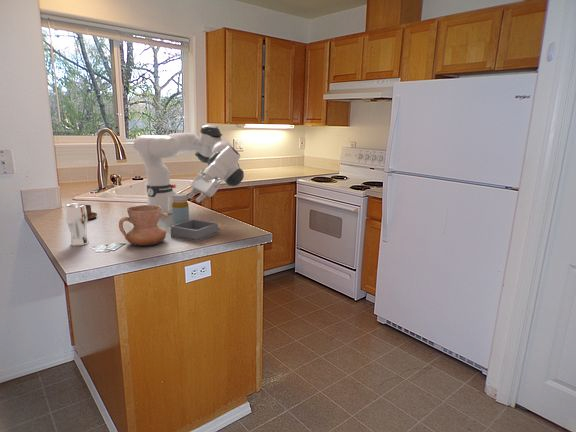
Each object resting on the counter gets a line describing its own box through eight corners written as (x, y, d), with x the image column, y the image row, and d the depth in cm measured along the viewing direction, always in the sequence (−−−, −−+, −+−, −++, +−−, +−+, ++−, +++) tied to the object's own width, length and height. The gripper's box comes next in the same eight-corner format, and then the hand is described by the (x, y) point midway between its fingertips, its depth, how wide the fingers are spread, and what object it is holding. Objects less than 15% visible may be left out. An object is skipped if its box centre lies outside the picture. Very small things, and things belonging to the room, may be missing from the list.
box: (193, 229, 170) (193, 219, 169) (218, 233, 164) (217, 223, 163) (171, 236, 158) (170, 226, 157) (196, 241, 152) (196, 230, 151)
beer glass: (66, 244, 147) (61, 205, 143) (84, 239, 152) (79, 202, 149) (75, 247, 143) (71, 208, 139) (93, 242, 148) (89, 205, 145)
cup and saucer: (66, 218, 185) (65, 205, 184) (93, 214, 192) (92, 202, 191) (72, 223, 176) (70, 210, 175) (100, 219, 184) (99, 207, 182)
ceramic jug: (164, 235, 160) (162, 202, 156) (173, 245, 148) (171, 209, 144) (118, 241, 151) (114, 206, 148) (123, 252, 139) (119, 214, 135)
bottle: (183, 224, 177) (181, 192, 173) (192, 227, 172) (191, 194, 169) (170, 227, 171) (168, 194, 168) (179, 230, 167) (177, 196, 163)
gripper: (227, 184, 167) (206, 208, 164) (209, 177, 184) (190, 199, 181) (217, 174, 163) (196, 199, 161) (200, 168, 180) (180, 191, 177)
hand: (193, 199), depth 171 cm, fingers open, 8 cm apart
